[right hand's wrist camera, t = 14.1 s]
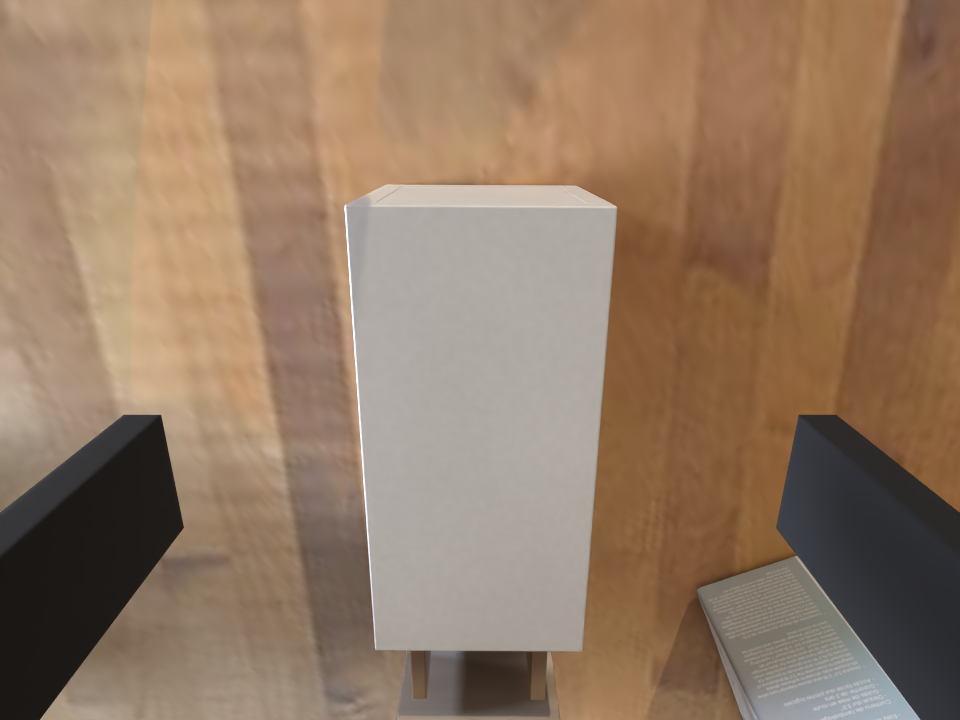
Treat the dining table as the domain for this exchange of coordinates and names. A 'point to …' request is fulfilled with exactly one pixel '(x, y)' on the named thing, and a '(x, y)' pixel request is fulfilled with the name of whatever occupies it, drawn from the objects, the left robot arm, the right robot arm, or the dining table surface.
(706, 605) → the hard drive box
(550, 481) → the cabinet
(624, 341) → the dining table surface
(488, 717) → the drawer
